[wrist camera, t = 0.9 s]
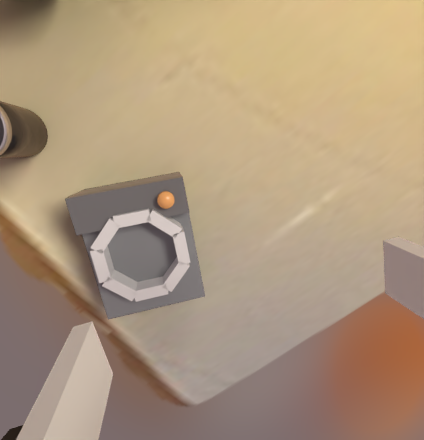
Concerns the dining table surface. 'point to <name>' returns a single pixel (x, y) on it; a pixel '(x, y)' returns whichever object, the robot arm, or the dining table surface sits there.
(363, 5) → the dining table surface
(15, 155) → the lens
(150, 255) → the camera body
